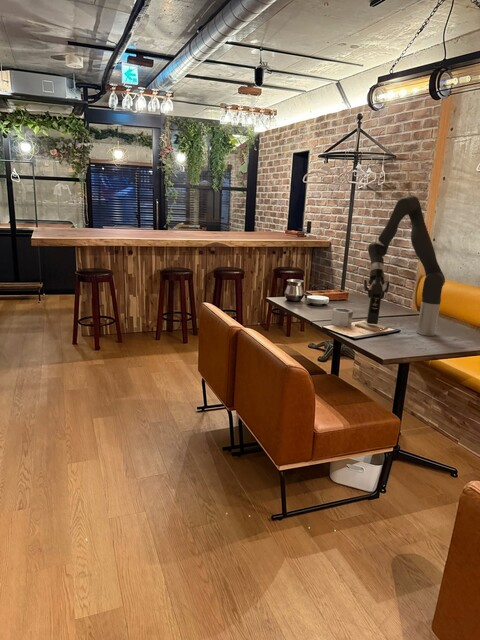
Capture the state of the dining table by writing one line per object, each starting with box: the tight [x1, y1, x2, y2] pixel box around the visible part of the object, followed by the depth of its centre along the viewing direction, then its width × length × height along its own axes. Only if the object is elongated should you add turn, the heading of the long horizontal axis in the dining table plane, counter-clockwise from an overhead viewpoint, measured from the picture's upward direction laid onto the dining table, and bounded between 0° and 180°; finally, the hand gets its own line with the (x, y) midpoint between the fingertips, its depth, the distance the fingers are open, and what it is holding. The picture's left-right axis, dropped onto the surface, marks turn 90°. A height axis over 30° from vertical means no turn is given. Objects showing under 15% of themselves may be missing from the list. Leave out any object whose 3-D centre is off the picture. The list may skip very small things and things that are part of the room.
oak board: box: [354, 320, 389, 332], centre depth 252 cm, size 13×13×1 cm
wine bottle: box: [366, 269, 384, 324], centre depth 248 cm, size 6×6×30 cm
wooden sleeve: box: [331, 307, 354, 327], centre depth 253 cm, size 10×10×8 cm
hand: (375, 297), depth 246 cm, fingers closed on wine bottle, 6 cm apart
